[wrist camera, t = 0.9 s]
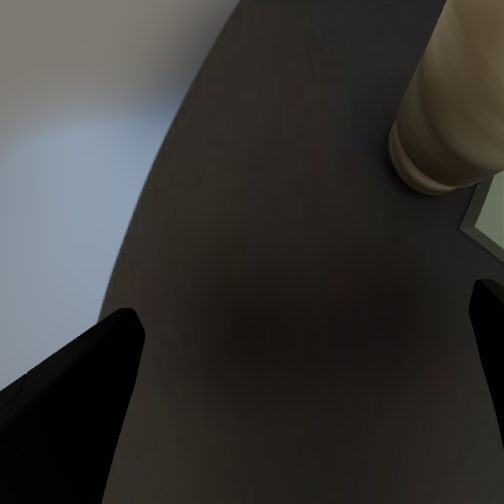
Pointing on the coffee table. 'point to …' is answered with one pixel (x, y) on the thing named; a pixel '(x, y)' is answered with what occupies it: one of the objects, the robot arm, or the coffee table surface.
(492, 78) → the beech leg
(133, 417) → the coffee table surface
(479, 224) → the sage board
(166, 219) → the coffee table surface
